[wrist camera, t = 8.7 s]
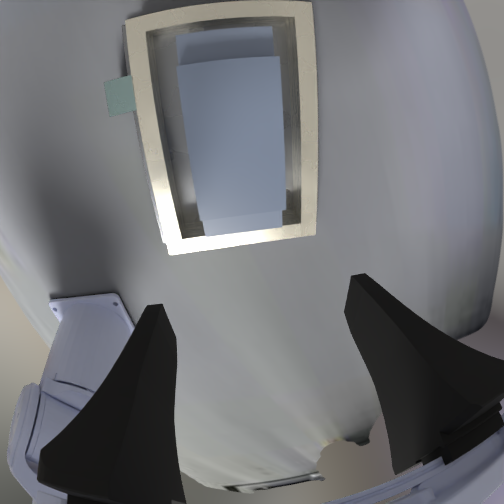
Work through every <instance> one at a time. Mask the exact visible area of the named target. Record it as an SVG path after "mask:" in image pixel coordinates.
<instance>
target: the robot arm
mask: <svg viewBox="0 0 504 504" xmlns="http://www.w3.org/2000/svg"><path fill="white" fill-rule="evenodd" d="M115 302H117V303H115ZM49 306H50V308H51V309H52V311H53V312H54V314H55V316H56V317H57V319H58V320H59V322H60V325H59V328H58V330H57V333H56V336H55V338H54V341H53V344H52V347H51V350H50V353H49V356H48V359H47V362H46V365H45V368H44V372H43V375H42V378H41V382H40V384H39V385H37V384H35V383H31V384H29V385H26V386H24V387H23V389H22V391H21V394H20V396H19V399H18V402H17V405H16V408H15V411H14V415H13V419H12V424H11V428H10V435H9V445H8V450H7V461H8V464H9V467H10V471H11V473H12V474H13V476H14V477H15V478H16V480H17V481H18V482H19V483H20V484H21V485H22V487H23V488H24V489H25V490H26V491H27V492H28V494H29V495H30V496H31V497H32V498H33V502H32V504H186V500H185V495H184V491H183V486H182V481H181V475H180V469H179V463H178V455H177V447H176V437H175V424H174V405H175V388H176V373H177V342H176V336H175V334H174V331H173V329H172V326H171V324H170V322H169V319H168V317H167V314H166V312H165V309H164V307H163V304H155V305H147V306H146V308H145V310H144V311H143V313H142V315H141V317H140V319H139V321H138V323H137V325H136V327H134V325H133V323H132V321H131V319H130V317H129V315H128V313H127V311H126V309H125V307H124V305H123V303H122V301H121V299H120V297H119V296H118V295H117V294H115V293H109V294H100V295H91V296H81V297H72V298H62V299H52V300H50V301H49ZM344 313H345V316H346V320H347V323H348V326H349V329H350V332H351V334H352V336H353V339H354V341H355V343H356V345H357V347H358V349H359V351H360V354H361V356H362V358H363V360H364V362H365V364H366V366H367V369H368V371H369V373H370V375H371V377H372V380H373V382H374V385H375V388H376V391H377V394H378V398H379V401H380V404H381V408H382V412H383V416H384V419H385V424H386V429H387V433H388V438H389V444H390V450H391V458H392V467H393V470H394V473H395V475H397V474H399V473H402V472H404V471H406V470H408V469H411V468H413V467H415V466H417V465H419V464H421V463H423V466H422V467H420V468H418V469H416V470H414V471H411V472H409V473H407V474H405V475H403V476H401V477H398V478H396V479H394V480H391V481H389V482H386V483H384V484H381V485H379V486H376V487H373V488H371V489H368V490H365V491H362V492H360V493H357V494H353V495H350V496H347V497H344V498H341V499H337V500H333V501H330V502H326V503H322V504H374V503H377V502H380V501H382V500H385V499H387V498H390V497H392V496H394V495H396V494H399V493H401V492H403V491H405V490H408V489H410V488H412V487H413V488H412V489H411V492H410V494H408V495H404V496H402V497H399V498H397V499H394V500H392V501H389V502H387V503H385V504H482V503H483V502H484V501H485V500H486V499H487V498H488V497H489V496H490V495H491V494H492V493H493V492H494V491H495V490H496V489H497V488H498V487H499V486H500V485H501V484H502V483H503V482H504V414H503V415H500V413H499V411H500V410H501V409H502V406H501V404H500V401H501V400H502V399H503V398H504V360H501V359H497V358H495V357H491V356H489V355H487V354H484V353H482V352H479V351H477V350H475V349H473V348H470V347H468V346H466V345H464V344H463V343H461V342H459V341H457V340H455V339H453V338H451V337H450V336H448V335H446V334H445V333H443V332H442V331H440V330H438V329H437V328H435V327H434V326H432V325H431V324H429V323H428V322H426V321H425V320H423V319H422V318H421V317H419V316H418V315H417V314H415V313H414V312H413V311H411V310H410V309H409V308H407V307H406V306H405V305H404V304H402V303H401V302H400V301H399V300H397V299H396V298H395V297H394V296H392V295H391V294H390V293H389V292H388V291H386V290H385V289H384V288H383V287H381V286H380V285H379V284H378V283H377V282H375V281H374V280H373V279H372V278H370V277H369V276H368V275H367V274H365V273H364V274H358V275H353V276H351V279H350V285H349V290H348V295H347V300H346V305H345V310H344Z"/></svg>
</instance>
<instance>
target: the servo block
mask: <svg viewBox="0 0 504 504" xmlns="http://www.w3.org/2000/svg"><path fill="white" fill-rule="evenodd" d="M175 36H176V46H177V55H178V64H179V66H176V68H177V76H178V84H179V92H180V100H181V107H182V114H183V121H184V128H185V134H186V141H187V147H188V154H189V160H190V166H191V172H192V178H193V184H194V189H195V195H196V201H197V206H198V212H199V217H200V221H202V222H203V227H204V232H205V238H207V237H214V236H221V235H228V234H235V233H242V232H250V231H257V230H265V229H273V228H280V227H282V210H286V178H285V148H284V124H283V104H282V86H281V70H280V56H274V44H273V32H272V26H262V27H240V28H227V29H217V30H208V31H200V32H193V33H187V34H181V35H175Z"/></svg>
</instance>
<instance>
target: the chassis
mask: <svg viewBox="0 0 504 504" xmlns="http://www.w3.org/2000/svg"><path fill="white" fill-rule="evenodd" d="M262 26H272V32H273V44H274V56H280V70H281V86H282V104H283V124H284V148H285V178H286V210H282V227H280V228H273V229H265V230H257V231H250V232H242V233H235V234H228V235H221V236H214V237H207V238H205V232H204V227H203V222H202V221H200V217H199V212H198V206H197V201H196V195H195V189H194V184H193V178H192V172H191V166H190V160H189V154H188V147H187V141H186V134H185V128H184V121H183V114H182V107H181V100H180V92H179V84H178V76H177V68H176V66H179V64H178V55H177V46H176V36H175V35H181V34H187V33H193V32H200V31H208V30H217V29H227V28H240V27H262ZM122 32H123V42H124V51H125V60H126V67H127V75H128V76H125V77H121V78H118V79H114V80H111V81H108V82H104V86H105V93H106V99H107V104H108V110H109V115H110V117H112V116H115V115H119V114H123V113H127V112H131V111H133V113H134V119H135V124H136V129H137V135H138V140H139V145H140V150H141V154H142V159H143V164H144V168H145V173H146V177H147V181H148V186H149V190H150V194H151V198H152V202H153V206H154V210H155V214H156V218H157V221H158V225H159V229H160V232H161V236H162V240H163V243H165V242H166V243H167V246H168V250H169V253H170V255H173V254H180V253H187V252H194V251H201V250H208V249H215V248H222V247H230V246H237V245H244V244H251V243H259V242H266V241H273V240H281V239H288V238H296V237H303V236H311V235H316V222H317V199H318V153H319V126H318V81H317V59H316V42H315V28H314V16H313V6H312V2H304V1H284V0H251V1H231V2H219V3H209V4H201V5H194V6H187V7H181V8H175V9H170V10H165V11H160V12H156V13H151V14H147V15H143V16H139V17H135V18H131V19H128V20H125V25H122Z"/></svg>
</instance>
